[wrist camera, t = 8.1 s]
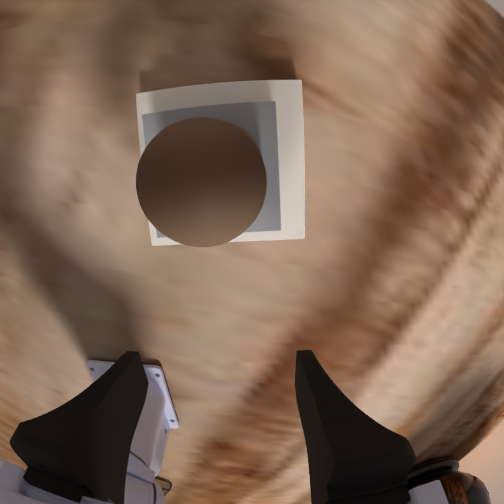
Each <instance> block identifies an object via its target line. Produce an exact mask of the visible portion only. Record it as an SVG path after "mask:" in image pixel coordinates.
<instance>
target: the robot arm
mask: <svg viewBox="0 0 504 504" xmlns="http://www.w3.org/2000/svg"><path fill="white" fill-rule="evenodd" d="M86 364H87V367H88V369H89V371H90V373H91V376H92V378H93V380H94V383H92V384H91V385H90V386H89V387H88V388H87V389H85V390H84V391H83V392H81V393H80V394H79V395H77V396H76V397H74V398H73V399H71V400H70V401H68V402H67V403H65V404H63V405H61V406H60V407H58V408H56V409H54V410H52V411H50V412H48V413H46V414H44V415H41V416H39V417H36V418H33V419H30V420H27V421H24V422H21V423H20V424H19V425H18V427H17V429H16V430H15V432H14V434H13V436H12V438H11V439H10V445H11V447H12V449H13V450H14V451H15V453H16V454H17V455H18V456H19V457H20V458H21V459H22V460H23V462H24V463H25V464H26V465H27V466H28V468H27V470H26V471H25V470H24V469H23V468H21V467H19V466H17V465H14V464H12V463H10V462H8V461H4V463H3V465H2V467H1V469H0V504H165V496H164V493H163V491H162V488H161V486H160V485H159V484H158V483H156V482H154V478H155V477H156V476H157V475H158V473H159V472H160V470H161V467H162V462H163V458H164V453H165V448H166V444H167V439H168V435H169V430H170V428H178V427H179V422H178V419H177V416H176V413H175V410H174V407H173V404H172V400H171V397H170V394H169V391H168V388H167V384H166V381H165V377H164V374H163V371H162V368H161V367H160V366H158V365H145V364H143V363H142V360H141V357H140V354H139V352H133V351H127V352H126V353H125V354H124V355H122V356H121V357H120V358H119V359H118V360H117V361H116V362H107V361H98V360H88V361H87V363H86ZM156 373H157V374H156ZM158 374H159V375H158ZM295 389H296V399H297V405H298V409H299V414H300V418H301V423H302V427H303V431H304V436H305V440H306V446H307V454H308V464H309V474H310V487H311V502H312V504H448V501H447V498H446V495H445V493H444V490H443V487H442V485H441V482H440V480H436V481H433V482H430V483H427V484H424V485H421V486H418V487H415V488H413V489H411V490H409V491H408V489H407V486H406V485H408V479H407V476H406V475H407V474H408V473H409V471H410V470H411V468H412V467H413V465H414V463H415V461H416V456H415V454H414V451H413V449H412V447H411V445H410V443H409V442H408V440H407V438H405V437H403V436H401V435H399V434H397V433H395V432H393V431H391V430H389V429H387V428H385V427H384V426H382V425H380V424H379V423H377V422H376V421H375V420H373V419H372V418H370V417H369V416H368V415H366V414H365V413H364V412H362V411H361V410H360V409H359V408H358V407H357V406H355V405H354V404H353V403H352V402H351V401H350V400H349V399H348V398H347V397H346V396H345V395H344V394H343V393H342V392H341V391H340V389H339V388H338V387H337V386H336V385H335V384H334V382H333V381H332V380H331V379H330V377H329V376H328V375H327V373H326V372H325V371H324V369H323V368H322V366H321V365H320V363H319V362H318V360H317V359H316V357H315V355H314V353H313V352H312V351H311V350H302V351H297V355H296V373H295Z"/></svg>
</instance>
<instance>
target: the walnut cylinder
mask: <svg viewBox="0 0 504 504" xmlns="http://www.w3.org/2000/svg"><path fill="white" fill-rule="evenodd" d="M136 190H137V195H138V199H139V202H140V205H141V208H142V210H143V212H144V214H145V215H146V217H147V218H148V220H149V221H150V222H151V224H152V225H153V226H154V227H155V228H156V229H157V230H158V231H159V232H161V233H162V234H163V235H165V236H166V237H168V238H170V239H171V240H173V241H175V242H178V243H180V244H184V245H188V246H193V247H211V246H216V245H221V244H224V243H226V242H229V241H231V240H233V239H235V238H236V237H238V236H239V235H241V234H242V233H243V232H245V231H246V230H247V229H248V228H249V227H250V226H251V224H252V223H253V222H254V221H255V219H256V218H257V216H258V215H259V213H260V211H261V209H262V206H263V203H264V200H265V196H266V190H267V176H266V170H265V166H264V162H263V159H262V156H261V153H260V150H259V148H258V146H257V144H256V142H255V141H254V140H253V138H252V137H251V136H250V135H249V134H248V133H247V132H246V131H245V130H243V129H242V128H240V127H239V126H237V125H234V124H232V123H229V122H225V121H221V120H217V119H213V118H205V117H198V118H189V119H184V120H181V121H178V122H175V123H173V124H171V125H169V126H168V127H166V128H164V129H163V130H161V131H160V132H159V133H158V134H157V135H156V136H155V137H154V138H153V139H152V140H151V141H150V142H149V144H148V145H147V147H146V148H145V150H144V152H143V154H142V156H141V158H140V161H139V164H138V168H137V174H136Z"/></svg>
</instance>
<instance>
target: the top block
mask: <svg viewBox="0 0 504 504" xmlns="http://www.w3.org/2000/svg"><path fill="white" fill-rule="evenodd" d="M198 117H205V118H213V119H217V120H221V121H225V122H229V123H232V124H234V125H237V126H239V127H240V128H242V129H243V130H245V131H246V132H247V133H248V134H249V135H250V136H251V137H252V138H253V140H254V141H255V142H256V144H257V146H258V148H259V150H260V153H261V156H262V159H263V162H264V166H265V170H266V176H267V190H266V196H265V200H264V203H263V206H262V209H261V211H260V213H259V215H258V216H257V218H256V219H255V221H254V222H253V223H252V224H251V226H250V227H249V228H248V229H247V230H246V231H245V232H262V231H281V210H280V183H279V159H278V138H277V119H276V101H263V102H244V103H230V104H218V105H208V106H199V107H190V108H182V109H175V110H168V111H161V112H155V113H149V114H143V115H142V118H143V130H144V140H145V148H146V147H147V145H148V144H149V142H150V141H151V140H152V139H153V138H154V137H155V136H156V135H157V134H158V133H159V132H160V131H161V130H163V129H164V128H166V127H168V126H169V125H171V124H173V123H175V122H178V121H181V120H184V119H189V118H198ZM156 233H157V238H162V237H166V236H165V235H163V234H162V233H161V232H159V231H158V230H157V229H156Z"/></svg>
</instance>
